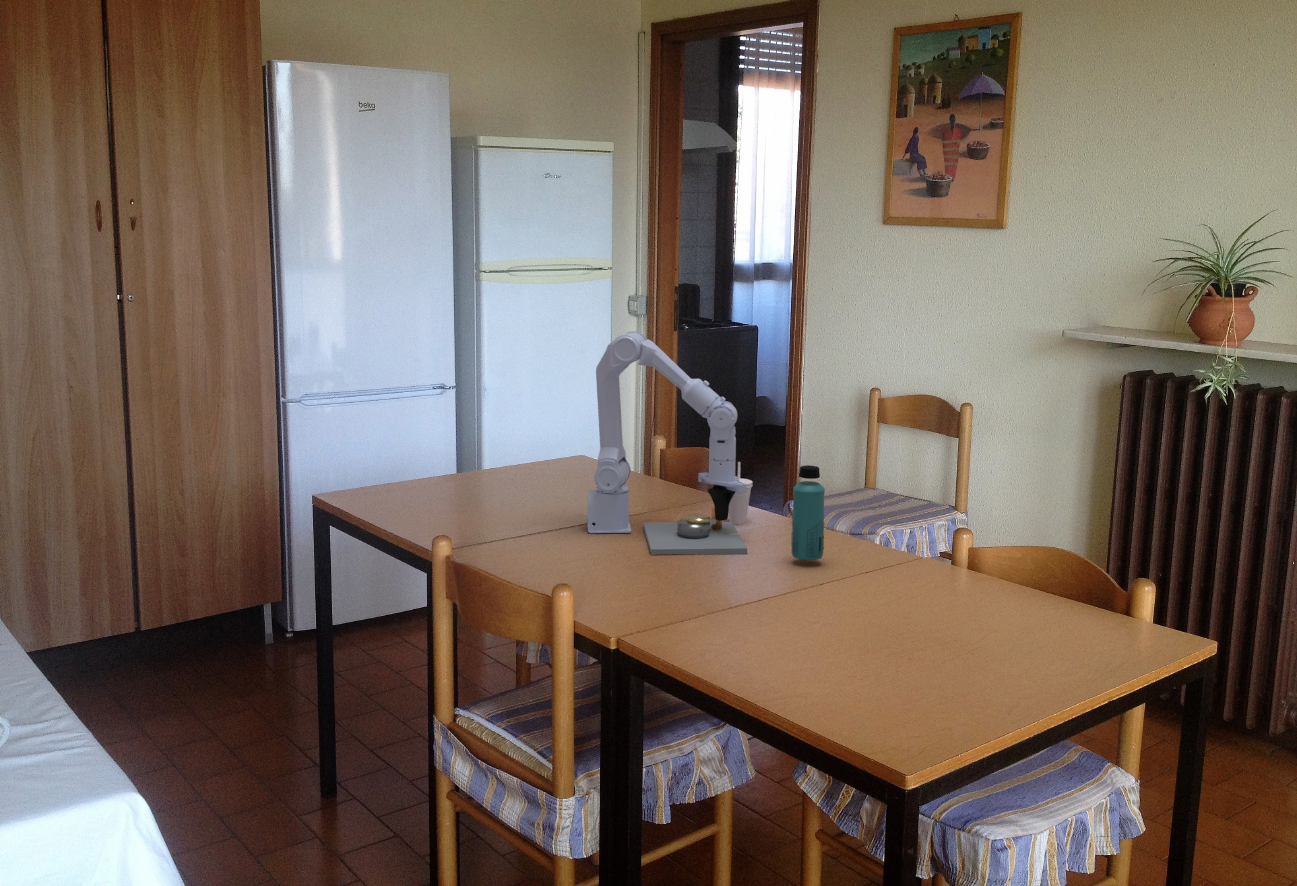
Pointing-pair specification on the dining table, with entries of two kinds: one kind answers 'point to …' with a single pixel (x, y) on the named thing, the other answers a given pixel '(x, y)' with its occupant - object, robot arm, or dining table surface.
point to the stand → (693, 540)
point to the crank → (698, 525)
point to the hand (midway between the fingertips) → (721, 519)
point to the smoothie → (740, 502)
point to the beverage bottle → (808, 516)
